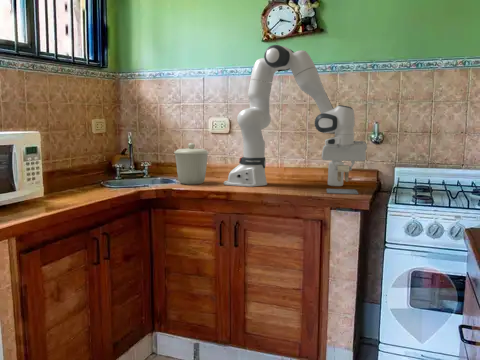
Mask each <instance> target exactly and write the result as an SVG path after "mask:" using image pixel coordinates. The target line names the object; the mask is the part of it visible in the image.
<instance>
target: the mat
mask: <svg viewBox="0 0 480 360" xmlns="http://www.w3.org/2000/svg"><path fill="white" fill-rule="evenodd" d="M326 194H334V195H335V194H336V195H337V194H338V195H339V194H340V195H341V194H342V195H359V192H358V190H357V189H346V188H345V189H344V188H326Z"/></svg>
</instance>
